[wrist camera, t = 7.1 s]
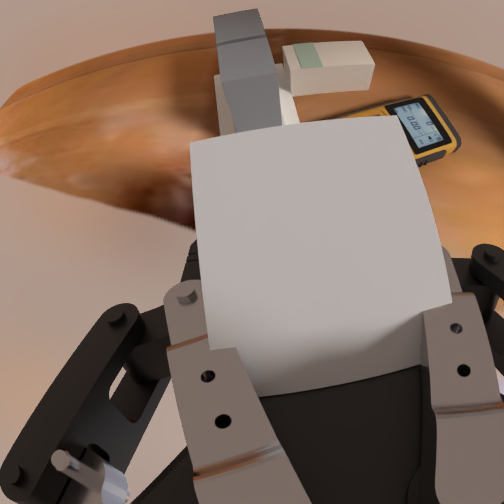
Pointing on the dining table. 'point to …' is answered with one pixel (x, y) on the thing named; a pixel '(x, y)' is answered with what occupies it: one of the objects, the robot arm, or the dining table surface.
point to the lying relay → (327, 67)
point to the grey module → (316, 251)
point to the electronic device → (418, 126)
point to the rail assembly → (249, 77)
